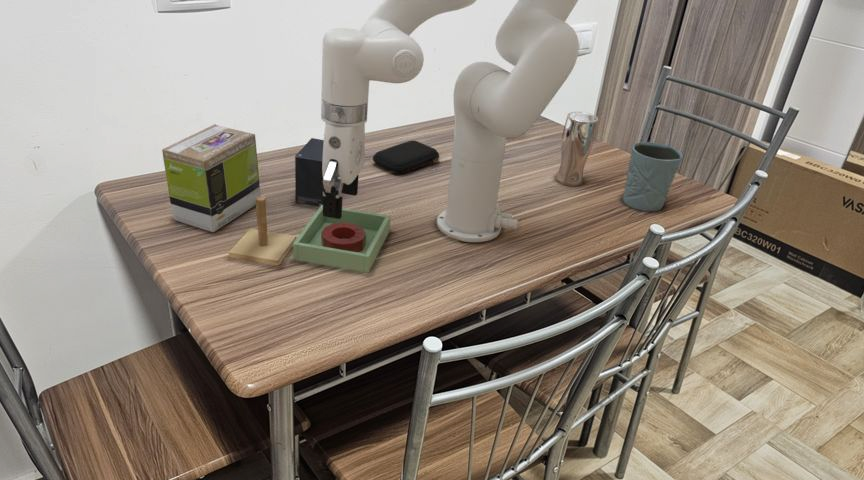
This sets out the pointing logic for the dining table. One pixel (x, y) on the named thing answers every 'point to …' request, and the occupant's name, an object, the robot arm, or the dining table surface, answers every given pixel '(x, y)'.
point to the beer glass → (576, 147)
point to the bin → (372, 223)
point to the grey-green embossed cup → (650, 175)
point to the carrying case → (406, 157)
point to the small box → (310, 174)
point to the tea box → (212, 177)
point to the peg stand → (262, 241)
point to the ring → (350, 232)
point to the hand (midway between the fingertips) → (340, 204)
